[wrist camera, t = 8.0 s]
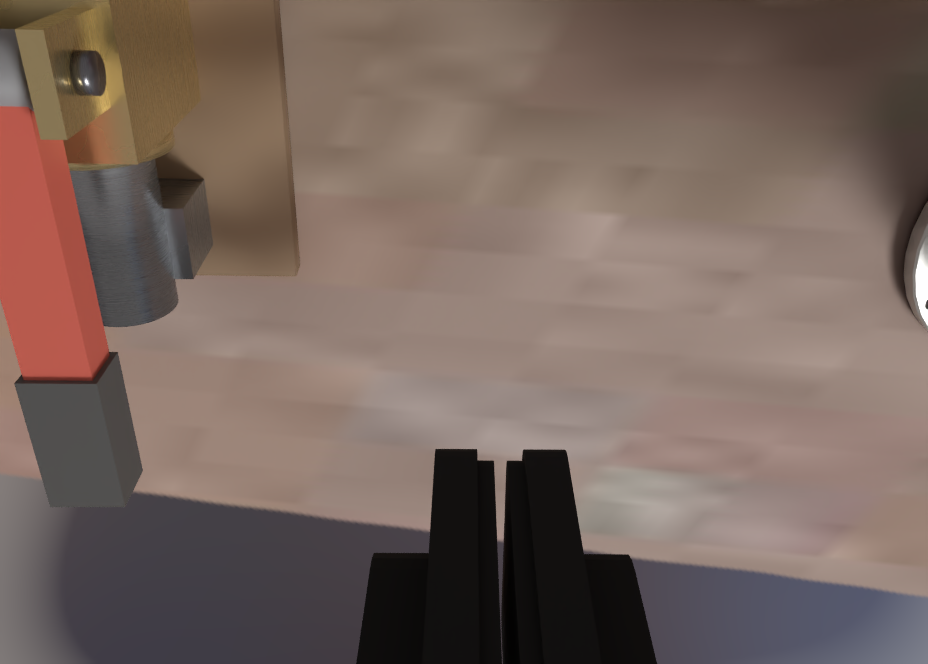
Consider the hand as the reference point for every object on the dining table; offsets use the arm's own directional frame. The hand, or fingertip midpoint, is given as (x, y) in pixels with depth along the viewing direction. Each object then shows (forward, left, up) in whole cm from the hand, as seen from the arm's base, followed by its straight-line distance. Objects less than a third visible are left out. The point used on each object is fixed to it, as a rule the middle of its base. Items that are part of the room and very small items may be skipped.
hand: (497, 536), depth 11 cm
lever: (+9, +10, -16) cm, 21 cm away
